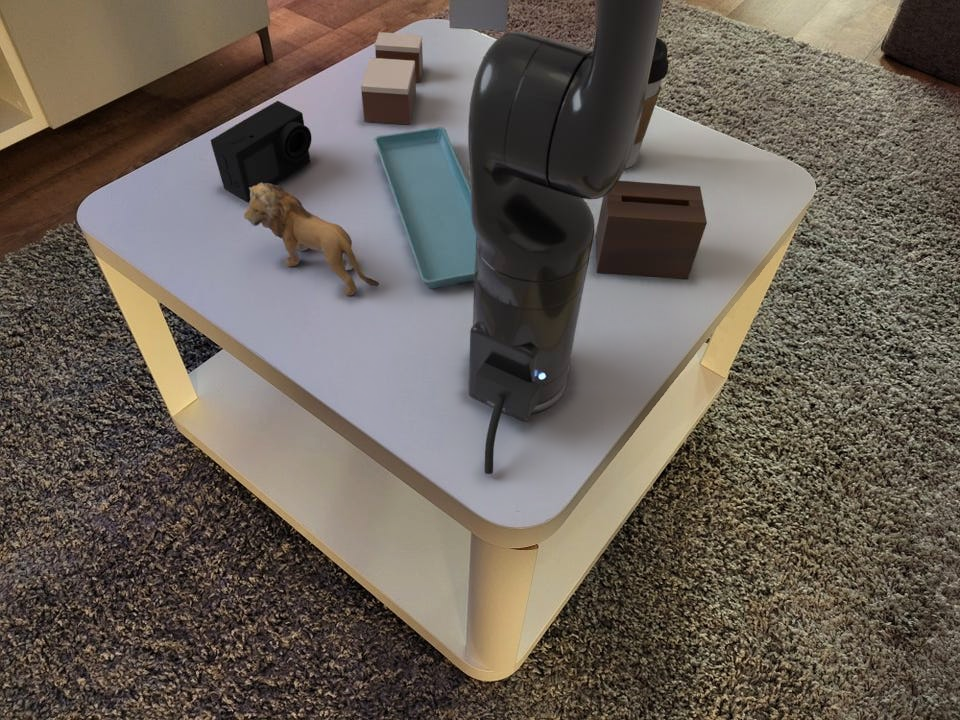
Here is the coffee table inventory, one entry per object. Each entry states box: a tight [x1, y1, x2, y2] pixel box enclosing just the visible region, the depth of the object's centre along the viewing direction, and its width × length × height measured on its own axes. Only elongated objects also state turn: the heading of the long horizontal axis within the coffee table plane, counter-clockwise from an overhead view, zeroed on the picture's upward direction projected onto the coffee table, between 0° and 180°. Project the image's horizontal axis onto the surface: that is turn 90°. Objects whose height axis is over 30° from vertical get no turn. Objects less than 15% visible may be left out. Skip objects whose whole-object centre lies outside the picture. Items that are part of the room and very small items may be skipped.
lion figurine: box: [243, 183, 380, 296], centre depth 79 cm, size 15×5×9 cm, turn 66°
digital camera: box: [210, 100, 313, 203], centre depth 89 cm, size 10×5×7 cm, turn 144°
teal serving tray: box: [373, 126, 476, 289], centre depth 88 cm, size 26×9×2 cm, turn 16°
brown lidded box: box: [360, 57, 417, 126], centre depth 100 cm, size 7×6×5 cm
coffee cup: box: [624, 36, 669, 170], centre depth 91 cm, size 8×8×15 cm
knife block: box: [594, 180, 708, 280], centre depth 82 cm, size 6×10×8 cm, turn 86°
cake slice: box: [374, 31, 424, 84], centre depth 106 cm, size 4×6×5 cm, turn 86°
